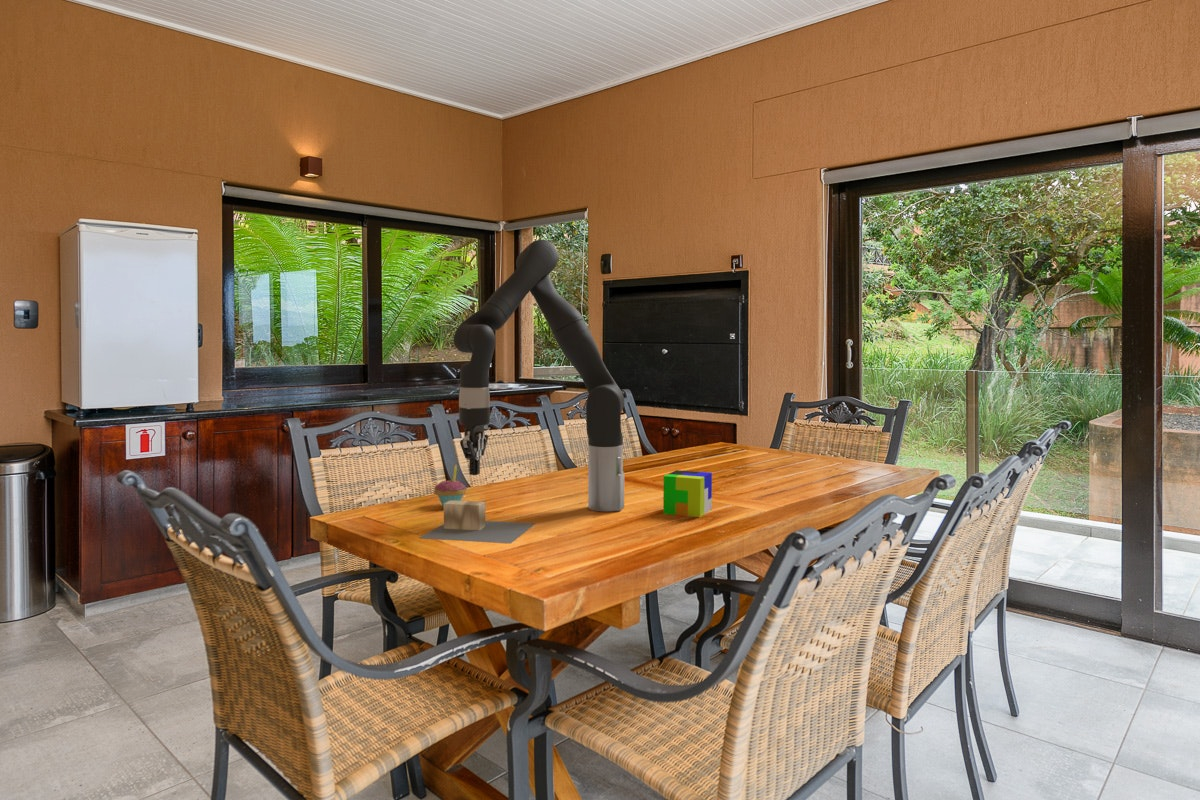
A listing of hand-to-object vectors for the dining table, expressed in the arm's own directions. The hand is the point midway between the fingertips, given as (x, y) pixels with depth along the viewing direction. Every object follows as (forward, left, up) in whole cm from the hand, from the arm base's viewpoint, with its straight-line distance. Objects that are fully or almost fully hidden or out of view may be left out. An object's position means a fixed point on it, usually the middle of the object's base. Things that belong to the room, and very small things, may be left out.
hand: (474, 474), depth 191 cm
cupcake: (+13, -15, -12) cm, 23 cm away
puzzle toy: (-51, -22, -12) cm, 57 cm away
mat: (-5, +10, -12) cm, 16 cm away
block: (-5, +8, -8) cm, 13 cm away
